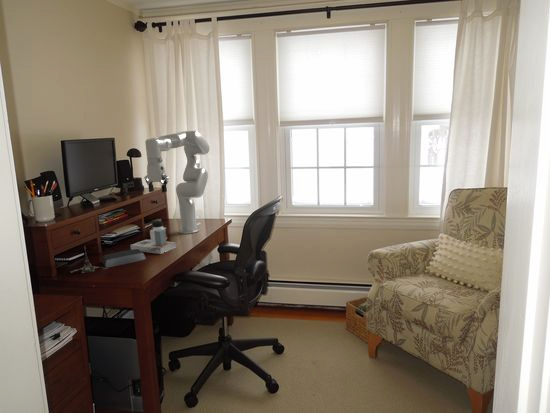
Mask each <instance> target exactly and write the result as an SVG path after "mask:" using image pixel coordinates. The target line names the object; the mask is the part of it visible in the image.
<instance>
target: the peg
mask: <svg viewBox="0 0 550 413" xmlns="http://www.w3.org/2000/svg"><path fill="white" fill-rule="evenodd" d="M154 233H155V242H156V246H163V245H166V244H167V243H166V241H167V239H166V233H165V230H162V229H159V230H156V231H154Z"/></svg>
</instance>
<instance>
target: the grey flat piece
mask: <svg viewBox="0 0 550 413" xmlns="http://www.w3.org/2000/svg"><path fill="white" fill-rule="evenodd" d="M166 243H167V244H166V245H163V246H156V242H155V240H151V239H144V240H141V241H137V242H135V243H133V244H130V250H134V249H139V250H140V251H141V252H142V253H152V254H158V255H159V254H160V255H161V254H165V253H166V252H167V253H168V252H169V251H172V250H174V249H176V248H177V242H175V241H167V240H166ZM164 252H165V253H164Z"/></svg>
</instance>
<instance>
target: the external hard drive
mask: <svg viewBox="0 0 550 413" xmlns="http://www.w3.org/2000/svg"><path fill="white" fill-rule="evenodd" d="M146 259H147V257H146V255H145V254H144V252H141V251H140V250H139V249H134V250H131V249H128V250H127V249H126V250H121V251H117V252H116V251H115V252H112V253H108V254H104V255H102V256H101V263H102V265H103V266H104V267H105V268H107V269H108V268H112V267H117V266H122V265H128V264H133V263H136V262H141V261H144V260H146Z"/></svg>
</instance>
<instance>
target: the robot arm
mask: <svg viewBox="0 0 550 413" xmlns="http://www.w3.org/2000/svg"><path fill="white" fill-rule="evenodd" d="M144 143H145V151H146V159H147V166H146V174H145V176H144V177H143V178H144V181H145V183H146V184H147V186H148V193H153V192H154V191H155V190H154V189H155V188H154V187H155V186H154V183H161V192H162V193H167V191H168V190H167V185H168V183H169V180H170V177H169V176H168V175H167V174H166V169H165V166H164V163H162V162H163V159H162V152H168V151H170V150H171V149H177V148H181V147H183V151H184V154H185V157H186V164H185V168H184V171H183V174H182V180H183V181H184V182H180V183H178V184H177V185H176V186H175V191H176V192H175V193H176V196H177V199H178V200H177V201H178V205H179V217H180V218H179V219H180V224H181V225H180V227H181V229H179V231H178V232H179V233H180V234H182V235H185V234H186V235H187V234H194V233H197V232H199V231H200V228H199V226H200V227H201V225H202V224H201V222H197V217H196V216H197V215H196V207H195V206H196V204H195V201H194V200H193V199H194V198H201V197H203V195H204V193H205V190H206V187H207V184H208V183H207V182H208V180H209V175H208V171H207V169H206V168H204V167H201V162H200V160H199V158H198V157H197V156H200V155H207V154H209V152H210V145H209V142H208V141H207V140H206V139H205V137H204V136H203V135H202V134H201V133H200V132H198V131H197V130H185V131H180V132H176V133H170V134H165V135H160V136H155V137H151V138H147V139H146V140H145V142H144Z"/></svg>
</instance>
